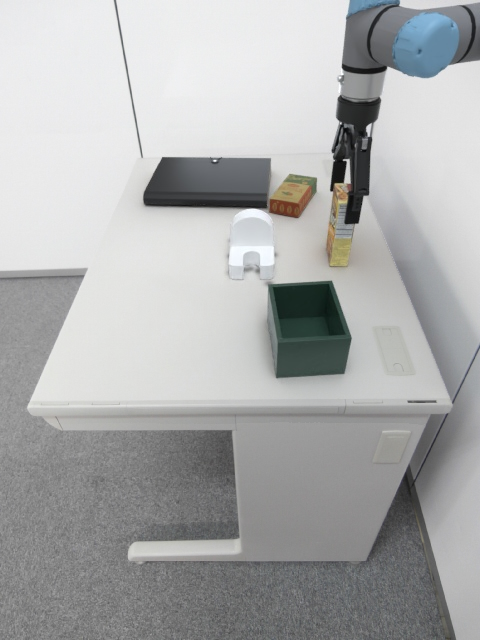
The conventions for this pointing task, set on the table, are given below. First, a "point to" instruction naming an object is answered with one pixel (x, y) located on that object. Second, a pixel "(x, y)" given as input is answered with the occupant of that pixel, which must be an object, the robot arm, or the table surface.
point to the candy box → (339, 227)
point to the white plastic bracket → (251, 243)
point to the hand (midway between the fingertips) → (343, 206)
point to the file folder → (210, 182)
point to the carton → (293, 195)
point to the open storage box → (307, 329)
